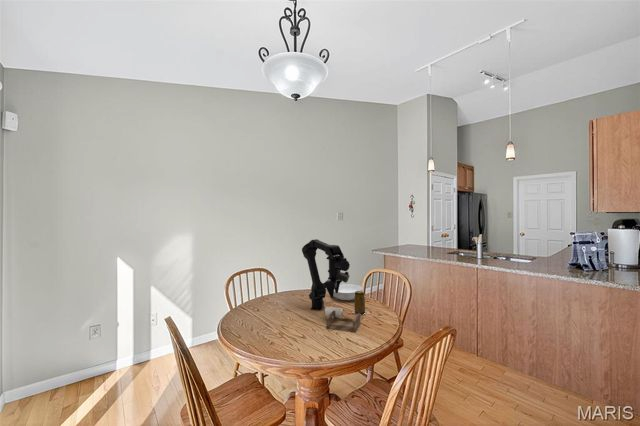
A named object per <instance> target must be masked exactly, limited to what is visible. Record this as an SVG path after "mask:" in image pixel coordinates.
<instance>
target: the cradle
mask: <svg viewBox="0 0 640 426" xmlns="http://www.w3.org/2000/svg"><path fill="white" fill-rule="evenodd" d="M325 319H326V320H325V321H326V330H333V331H334V330H335V331H336V330H337V331H341V332H342V331H343V332H351V333H356V332H357V330H358V329H359V327H360V325H361V315H360V313H358V314H355V317H354V318H350V317H343V316H342V317H335V311H332V312H331V314H330V315H329V316H328V317H327V316H326V318H325Z"/></svg>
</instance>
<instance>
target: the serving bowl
mask: <svg viewBox="0 0 640 426" xmlns="http://www.w3.org/2000/svg"><path fill="white" fill-rule="evenodd" d="M363 289H364V288H363V287H362V286H360V285H358V284H352V283H351V284H349V283H345V284H340V286H339V290H338V293H336V292H335V289H334V296H333V297H335V298H336V299H338V300H343V301H352V300H354V297H355V292H356V291H363ZM363 292H364V291H363Z"/></svg>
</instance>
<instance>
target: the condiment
mask: <svg viewBox="0 0 640 426" xmlns="http://www.w3.org/2000/svg"><path fill="white" fill-rule="evenodd" d="M353 300H354V302H353V303H354V311H351V313H352V314H355V315H357V314H358V313H360V314H361V315H360V317H363V316H367V315H369V314H370V312H369V311H366V297H365V292H364V291H356V292H355V297H354V299H353ZM365 311H366V312H367V313H366V314H364V313H365ZM363 314H364V315H363Z"/></svg>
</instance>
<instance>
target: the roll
mask: <svg viewBox="0 0 640 426" xmlns="http://www.w3.org/2000/svg"><path fill="white" fill-rule="evenodd" d="M324 309H325V310H324V316H325V317H326V318H327V317H328V316H329V315H330V314H331V312H332V311H335V317H343V315H344V310H343V307H342V308H341V307H334V306H333V307H332V306H331V307H330V306H326V307H325V308H324Z"/></svg>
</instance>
